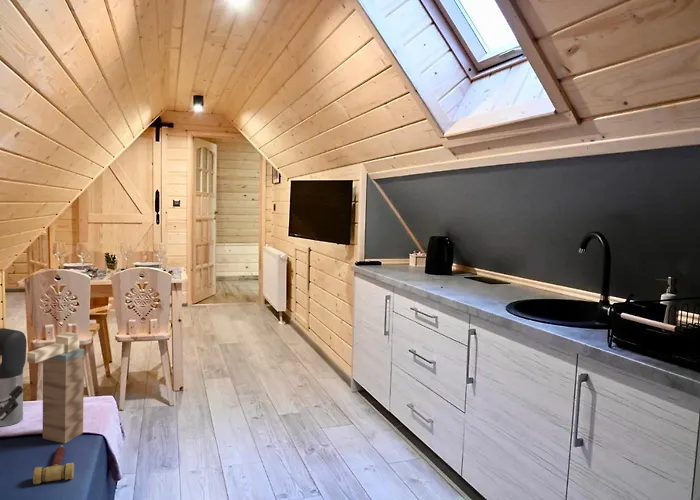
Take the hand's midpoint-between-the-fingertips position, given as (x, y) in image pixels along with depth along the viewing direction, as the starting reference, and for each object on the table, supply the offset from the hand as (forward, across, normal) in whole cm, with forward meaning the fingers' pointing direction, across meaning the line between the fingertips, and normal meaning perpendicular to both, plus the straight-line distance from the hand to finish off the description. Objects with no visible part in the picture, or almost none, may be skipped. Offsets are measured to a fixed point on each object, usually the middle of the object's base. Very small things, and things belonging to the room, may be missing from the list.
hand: (9, 385), depth 151 cm
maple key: (+16, 0, -4) cm, 17 cm away
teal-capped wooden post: (+5, 0, -32) cm, 33 cm away
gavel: (-8, +12, -26) cm, 29 cm away
